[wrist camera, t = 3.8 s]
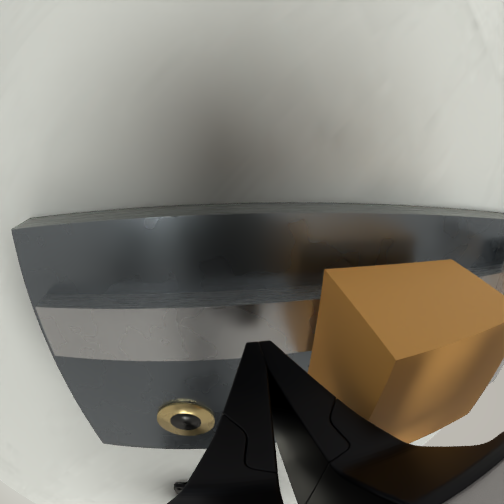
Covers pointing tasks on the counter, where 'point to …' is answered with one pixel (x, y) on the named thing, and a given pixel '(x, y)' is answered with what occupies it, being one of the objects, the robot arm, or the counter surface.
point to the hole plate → (210, 296)
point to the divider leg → (407, 343)
